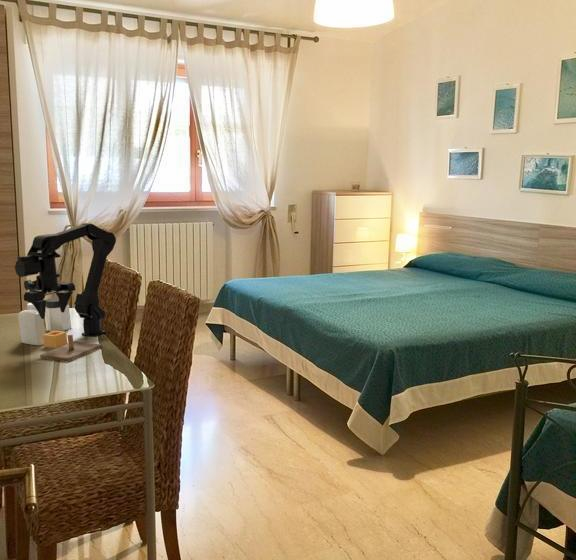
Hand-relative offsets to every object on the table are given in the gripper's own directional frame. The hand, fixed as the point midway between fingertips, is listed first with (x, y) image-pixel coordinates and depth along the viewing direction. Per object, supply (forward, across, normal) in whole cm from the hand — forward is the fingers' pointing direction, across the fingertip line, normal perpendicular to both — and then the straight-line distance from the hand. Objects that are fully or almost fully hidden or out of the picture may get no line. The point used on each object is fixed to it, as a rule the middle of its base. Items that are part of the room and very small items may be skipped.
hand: (53, 315), depth 213 cm
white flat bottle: (+11, +1, -10) cm, 15 cm away
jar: (+11, -17, -15) cm, 25 cm away
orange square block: (+11, 0, 0) cm, 11 cm away
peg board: (+11, +5, +12) cm, 17 cm away
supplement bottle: (+11, -6, -15) cm, 20 cm away
